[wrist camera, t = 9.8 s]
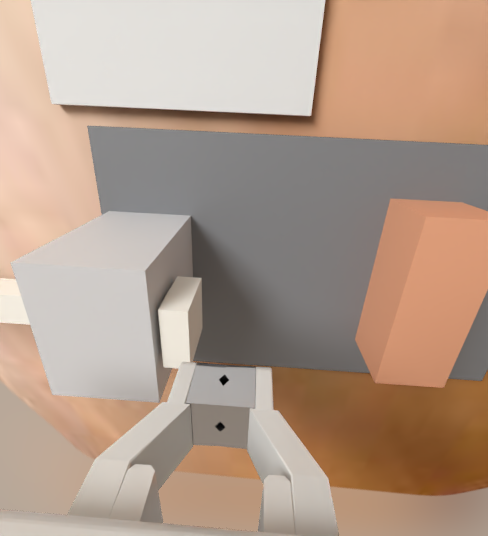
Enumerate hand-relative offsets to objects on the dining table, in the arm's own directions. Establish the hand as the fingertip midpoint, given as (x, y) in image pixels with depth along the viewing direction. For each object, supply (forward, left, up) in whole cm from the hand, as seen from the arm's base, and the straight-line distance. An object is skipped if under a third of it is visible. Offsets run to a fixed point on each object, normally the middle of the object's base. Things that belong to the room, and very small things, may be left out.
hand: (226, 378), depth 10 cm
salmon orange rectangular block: (+1, +10, -10) cm, 14 cm away
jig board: (+1, +5, -11) cm, 12 cm away
